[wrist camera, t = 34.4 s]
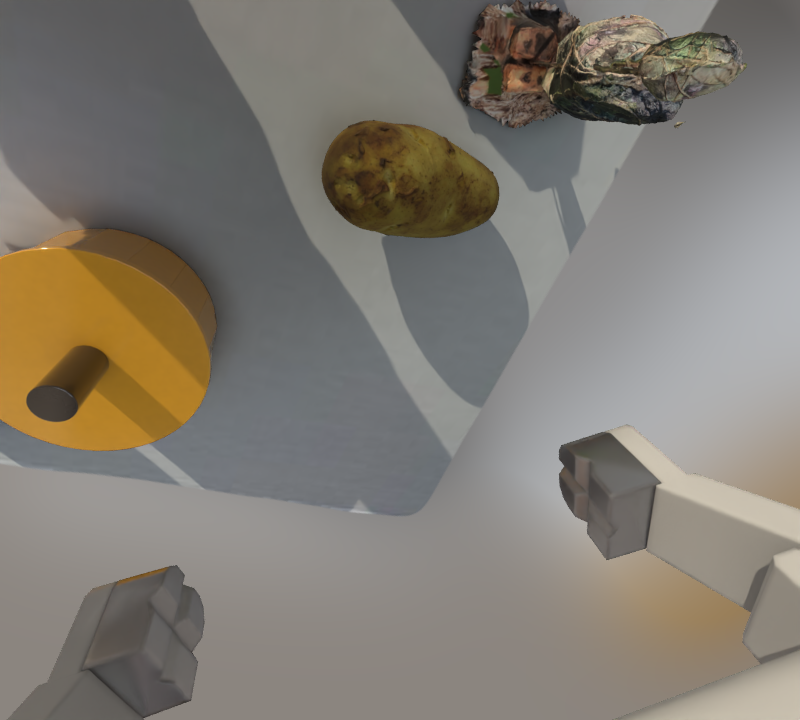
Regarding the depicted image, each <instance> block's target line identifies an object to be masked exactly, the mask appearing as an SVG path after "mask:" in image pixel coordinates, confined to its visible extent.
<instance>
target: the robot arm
mask: <svg viewBox="0 0 800 720" xmlns="http://www.w3.org/2000/svg"><path fill="white" fill-rule="evenodd" d="M559 460H560V461H561V462H562V463H563V465H564V468H563V469H562V470H561V472H560V473H559V483H560V488H561V491H562V495H563V498H564V500H565V501H566V503H567V505H568V507H569V509H570V510H571V511H572V513H573V514H574V515H575V517H577V518H580V519H581V520H584V521H586V522H588V525H587V526H588V528H587V534H588V535H589V537H590V538H591V539H592V540H593V542H594V543H595V545H596V546H597V547H598V549H599V550H600V552H601V553H602V554H603V556H604V557H605V558H606V560H609V559H612V558H616V557H619V556H623V555H626V554H629V553H632V552H636V551H639V550H642V549H645V548H647V549H646V551H648V552H650V553H651V554H653V555H655V556H656V557H658V558H660V559H661V560H663V561H665V562H666V563H668V564H670V565H672V566H673V567H675V568H677V569H678V570H680V571H682V572H683V573H685V574H687V575H688V576H690V577H692V578H694V579H695V580H697V581H699V582H700V583H702V584H704V585H706V586H707V587H709V588H710V589H712V590H714V591H716V592H717V593H719V594H721V595H722V596H724V597H726V598H727V599H729V600H731V601H733V602H734V603H736V604H738V605H739V606H741V607H743V608H744V609H746V610H748V611H750V612H751V615H750V617H749V620H748V622H747V625H746V628H745V630H744V633H743V644H744V645H745V646H746V647H747V648H748V649H749V651H750V652H751V653H752V654H753V655H754V657H755V658H756V659H757V660H758V661H759V662H760V663H761V664H760V665H758V666H755V667H752V668H750V669H747V670H744V671H741V672H739V673H736V674H734V675H731V676H728V677H726V678H723V679H720V680H718V681H715V682H712V683H709V684H707V685H704V686H702V687H699V688H696V689H694V690H691V691H688V692H686V693H683V694H680V695H677V696H675V697H672V698H670V699H667V700H664V701H661V702H659V703H656V704H654V705H651V706H648V707H645V708H643V709H640V710H638V711H635V712H632V713H629V714H627V715H624V716H622V717H619V718H616V719H613V720H800V509H797V508H794V507H791V506H788V505H785V504H782V503H780V502H776V501H774V500H771V499H768V498H765V497H762V496H759V495H756V494H754V493H751V492H748V491H745V490H742V489H739V488H736V487H733V486H730V485H728V484H724V483H722V482H719V481H716V480H713V479H710V478H707V477H704V476H702V475H699V474H696V473H693V474H690V475H687V474H686V473H685V472H684V471H683V470H682V469H680V468H679V467H678V466H677V465H676V464H675V463H674V462H672V461H671V460H670V459H669V458H668V457H667V456H666V455H664V454H663V453H662V452H661V451H660V450H659V449H658V448H657V447H655V446H654V445H653V444H652V443H651V442H650V441H649V440H647V439H646V438H645V437H644V436H642V434H640V433H639V432H638V431H637V430H636V429H635V428H634V427H632V426H630V425H624V426H621V427H618V428H615V429H611V430H608V431H605V432H601V433H598V434H595V435H592V436H589V437H586V438H582V439H579V440H576V441H573V442H570V443H567V444H564V445H561V447H560V449H559ZM184 576H185V575H184V574H183V572H182V571H181V570H180V569H179V567H178V566H177V565H175V566H169V567H165V568H162V569H158V570H155V571H151V572H148V573H144V574H140V575H137V576H133V577H130V578H126V579H123V580H119V581H117V582H114V583H110V584H106V585H103V586H99V587H96V588H93V589H92V590H91V591H90V592H89V593H88V594H87V595H86V596H85V598H84V600H83V602H82V604H81V607H80V609H79V611H78V613H77V616H76V618H75V620H74V623H73V625H72V627H71V629H70V632H69V634H68V636H67V639H66V641H65V643H64V646H63V648H62V650H61V652H60V654H59V657H58V659H57V661H56V664H55V666H54V668H53V671H52V673H51V675H50V677H49V680H48V682H47V683H45V684H42V685H39V686H38V687H37V688H36V689H35V690H34V691H33V692H32V693H31V694H30V695H29V696H28V697H27V698H26V700H25V701H24V702H23V703H22V704H21V705H20V706H19V707H18V708H17V710H16V711H15V712H14V713H13V714H12V715H11V716H10V717H9V718H8V719H7V720H144V719H143V718H145V717H148V716H150V715H153V714H156V713H159V712H161V711H164V710H167V709H170V708H172V707H175V706H178V705H180V704H183V703H186V702H189V701H191V698H192V692H193V687H194V681H195V676H196V670H197V664H198V661H197V660H196V658H195V656H194V655H193V653H192V651H193V650H194V648H195V647H196V646H197V644H198V643H199V641H200V640H201V638H202V635H203V628H204V609H203V604H202V601H201V598H200V596H199V594H198V593H197V591H196V590H195V589H194V588H192V587H189V586H186V585H183V581H184Z"/></svg>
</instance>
